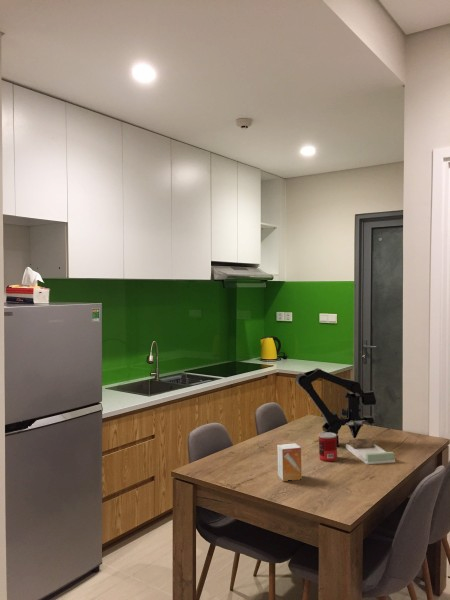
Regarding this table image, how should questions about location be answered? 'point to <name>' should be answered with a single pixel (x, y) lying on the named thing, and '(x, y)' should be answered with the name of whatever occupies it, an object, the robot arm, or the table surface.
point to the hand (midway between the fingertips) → (354, 438)
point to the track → (366, 450)
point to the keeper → (361, 443)
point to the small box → (289, 462)
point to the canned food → (327, 446)
